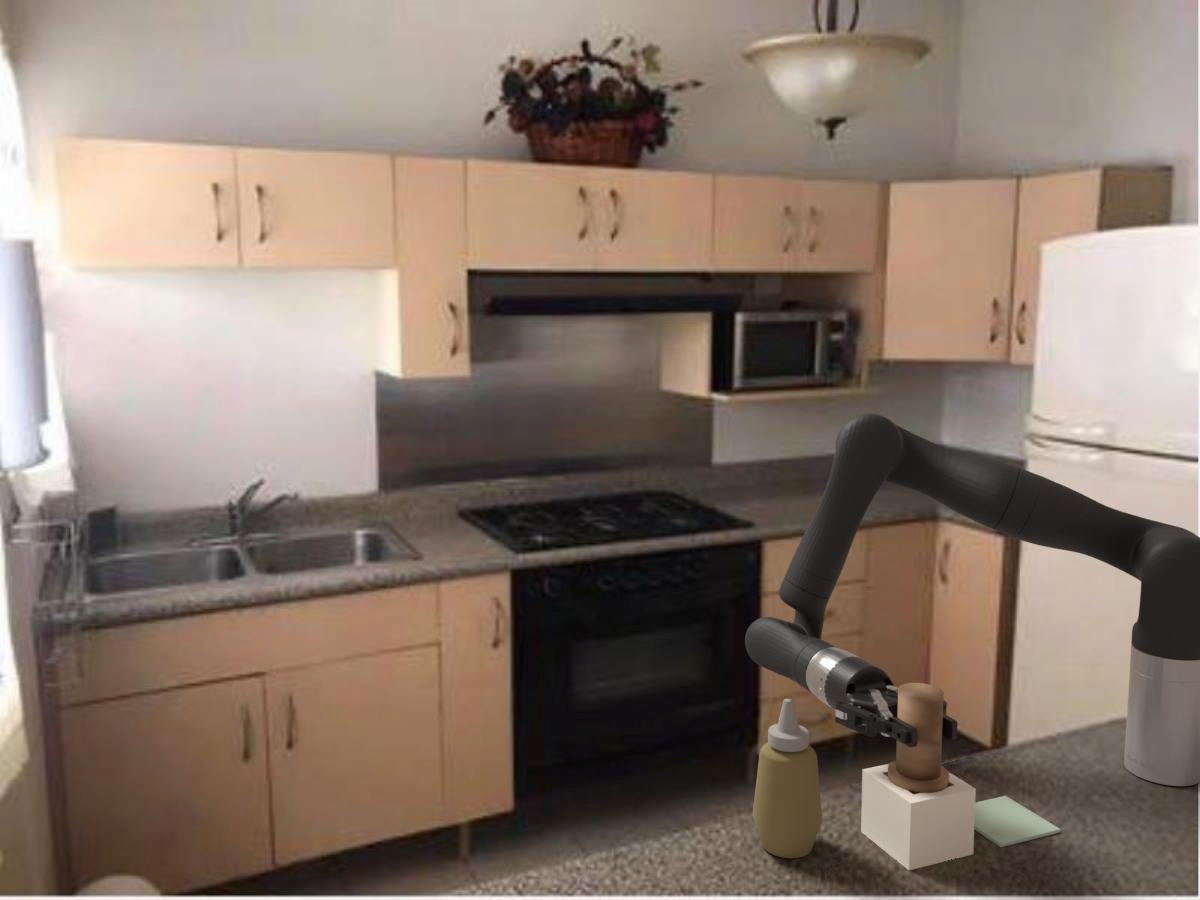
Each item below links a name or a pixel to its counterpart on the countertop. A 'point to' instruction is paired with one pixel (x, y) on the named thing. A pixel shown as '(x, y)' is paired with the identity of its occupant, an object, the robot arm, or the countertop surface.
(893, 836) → the white socket block
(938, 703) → the flanged wooden peg
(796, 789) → the squeeze bottle
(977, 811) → the mat
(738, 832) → the countertop surface
